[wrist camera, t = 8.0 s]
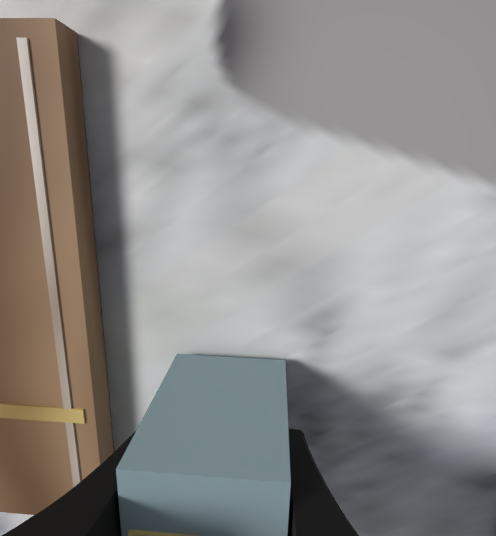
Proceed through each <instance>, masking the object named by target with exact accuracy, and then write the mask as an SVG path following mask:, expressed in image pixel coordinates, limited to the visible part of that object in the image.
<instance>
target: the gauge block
mask: <svg viewBox="0 0 496 536" xmlns="http://www.w3.org/2000/svg"><path fill="white" fill-rule="evenodd" d="M116 476H117V488H118V500H119V512H120V523H121V535H122V536H287V534H288V518H289V503H290V488H291V476H290V453H289V430H288V408H287V385H286V362H285V360H274V359H257V358H240V357H222V356H205V355H188V354H177V355H176V357H175V359H174V361H173V363H172V365H171V366H170V368H169V370H168V372H167V374H166V376H165V378H164V380H163V381H162V383H161V385H160V387H159V389H158V391H157V393H156V395H155V397H154V398H153V400H152V402H151V404H150V406H149V408H148V410H147V412H146V413H145V415H144V417H143V419H142V421H141V423H140V425H139V427H138V429H137V430H136V432H135V434H134V436H133V438H132V440H131V442H130V444H129V445H128V447H127V449H126V451H125V453H124V455H123V457H122V459H121V461H120V462H119V464H118V466H117V468H116Z"/></svg>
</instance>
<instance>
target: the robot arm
mask: <svg viewBox="0 0 496 536" xmlns="http://www.w3.org/2000/svg"><path fill="white" fill-rule="evenodd" d="M288 430H289V453H290V476H291V488H290V503H289V518H288V534H287V536H359V535H358V534H357V533H356V531H355V530H354V528H353V527H352V526H351V524H350V523H349V521H348V520H347V518H346V517H345V515H344V514H343V512H342V510H341V509H340V507H339V506H338V504H337V502H336V501H335V499H334V497H333V496H332V494H331V492H330V490H329V489H328V487H327V485H326V483H325V481H324V479H323V478H322V476H321V474H320V472H319V470H318V468H317V466H316V464H315V462H314V459H313V457H312V455H311V453H310V450H309V448H308V445H307V443H306V440H305V437H304V433H303V432H302V431H301V430H296V429H288ZM135 432H136V431H135ZM135 432H134V433H133V434H132V435H131V436H130V437H129V438H128V439H127V440H126V441H125V442H124V443H123V444H122V445H121V446H120V447H119V448H118V449H117V450H116V451H115V452H114V453H112V454H111V455H110V456H109V457H108V458H107V459H106V460H105V461H104V462H103V463H102V464H101V465H99V466H98V467H97V468H96V469H95V470H94V471H93V472H91V473H90V474H89V475H88V476H87V477H85V478H84V479H83V480H82V481H81V482H80V483H78V484H77V485H76V486H75V487H73V488H72V489H71V490H70V491H68V492H67V493H66V494H64V495H63V496H62V497H60V498H59V499H58V500H56V501H55V502H53V503H52V504H51V505H49V506H48V507H46V508H45V509H44V510H42V511H40V512H39V513H37V514H36V515H34V516H33V517H31V518H30V519H28V520H26V521H25V522H23V523H22V524H20V525H19V526H17V527H16V528H14V529H12V530H11V531H9V532H7V533H6V534H4V535H2V536H122V535H121V523H120V512H119V500H118V488H117V476H116V468H117V466H118V464H119V462H120V461H121V459H122V457H123V455H124V453H125V451H126V449H127V447H128V445H129V444H130V442H131V440H132V438H133V436H134V434H135Z"/></svg>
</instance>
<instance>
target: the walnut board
mask: <svg viewBox="0 0 496 536" xmlns="http://www.w3.org/2000/svg"><path fill="white" fill-rule="evenodd" d="M112 453H114V449H113V438H112V426H111V415H110V404H109V392H108V381H107V370H106V358H105V347H104V336H103V325H102V313H101V302H100V291H99V279H98V268H97V257H96V245H95V234H94V223H93V211H92V200H91V189H90V177H89V166H88V155H87V144H86V132H85V121H84V110H83V98H82V87H81V76H80V64H79V53H78V42H77V33H76V32H75V31H73V30H72V29H70V28H69V27H67V26H66V25H64V24H63V23H61V22H60V21H58V20H57V19H55V18H0V512H8V513H20V514H31V515H36V514H37V513H39V512H40V511H42V510H44V509H45V508H46V507H48V506H49V505H51V504H52V503H53V502H55V501H56V500H58V499H59V498H60V497H62V496H63V495H64V494H66V493H67V492H68V491H70V490H71V489H72V488H73V487H75V486H76V485H77V484H78V483H80V482H81V481H82V480H83V479H84V478H85V477H87V476H88V475H89V474H90V473H91V472H93V471H94V470H95V469H96V468H97V467H98V466H99V465H101V464H102V463H103V462H104V461H105V460H106V459H107V458H108V457H109V456H110V455H111V454H112Z"/></svg>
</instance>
